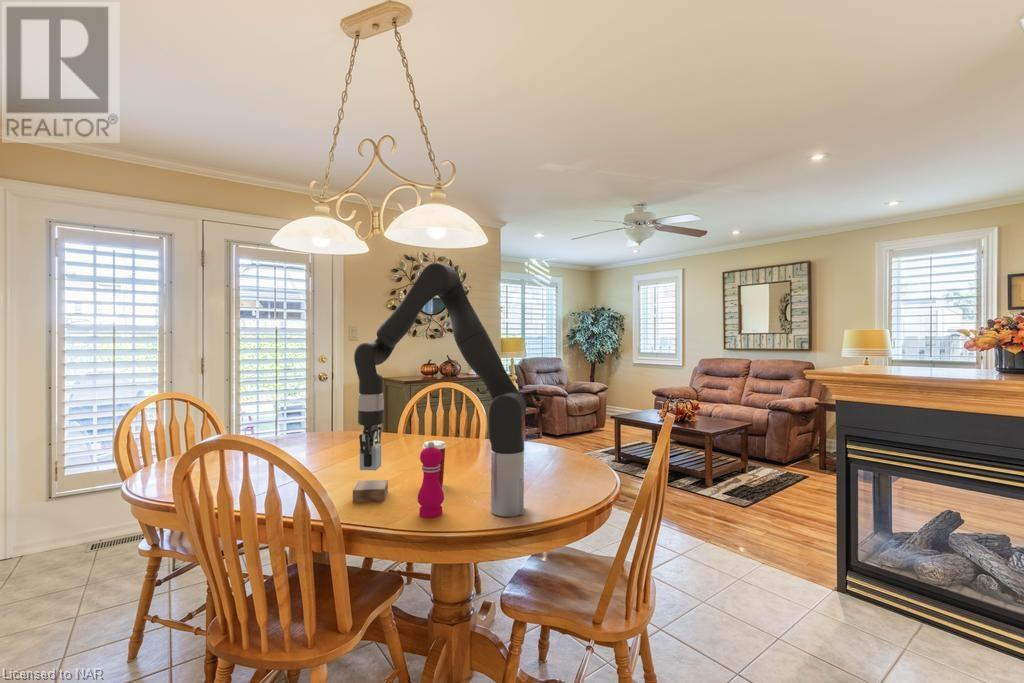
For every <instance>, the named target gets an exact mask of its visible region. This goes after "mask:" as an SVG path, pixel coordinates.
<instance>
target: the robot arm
mask: <svg viewBox="0 0 1024 683" xmlns="http://www.w3.org/2000/svg"><path fill="white" fill-rule="evenodd" d="M437 296H438V298H439V299H440V301H441V302H442V304H443V306H444V308H445V309H446V310H447V314H448V316H449V319H450V323H451V328H452V329H451V330H452V334H453V338H454V341H455V344H456V345H457V348H458V350H459V351H460V353H461V355H462V357H463V358H464V359H463V360H464V361H465V362H466V363H467V365H468V366H469V367H470V368H471V370H472V371H473V372H474V373H475V374H476V375H477V376H478V377H479V378H480V379H481V381H482V382H483V383H484V385H485V386H486V389H487V390H488V393H489V394H490V397H491V399H492V401H491V402H490V405H489V407H488V436H489V437H488V438H489V442H490V449H491V450H490V513H491V514H493V515H495V516H498V517H505V518H508V517H509V518H510V517H511V518H512V517H517V516H523V515H524V514H525V513H524V512H525V510H524V508H525V506H524V504H525V492H524V491H525V442H524V441H525V440H524V439H523V435H522V434H523V432H522V431H523V430H522V428H523V427H522V420H523V419H524V417H525V415H526V412H527V404H526V401H525V399H524V397H523V396H522V394H521V393H520V391H519V390H518V388H517V387H516V385H515V384H514V383H513V381H512V379H511V378H510V376H509V374H508V373H507V371H506V369H505V367H504V365H503V361H502V360H501V357H500V356H499V353H498V351H497V350H496V347H495V346H494V343H493V341H492V340H491V338H490V336H489V334H488V332H487V330H486V329H485V327H484V325H483V323H482V321H481V319H480V318H479V316H478V315H477V313H476V311H475V309H474V307H473V306H472V304H471V303H470V300H469V299H468V296H467V294H466V291H465V289H464V285H463V283H462V280H461V278H460V275H459V274H458V272H457V271H456V269H455V268H453V267H452V266H450V265H447V264H446V263H445V264H444V263H441V262H431V263H429V264H428V265H426V266H425V267H424V268H423V269H422V271H421V272H420V274H419V275H418V277H417V278H416V280H415V281H414V283H413V285H412V286H411V288H410V289H409V291H408V292H407V294H406V296H405V297H404V298H403V299H402V301H401V302H400V303H399V305H397V307H396V308H395V309H394V311H393V312H392V313H391V314H390V315H389V316H388V317H387V319H386V320H385V321H384V322H383V323H382V324H381V326H379V327H378V329H377V330H376V336H377V338H376V339H375V340H374V341H372V342H362V343H360V344H359V345H357V347H356V349H355V350H354V353H353V354H354V355H353V357H354V358H353V360H354V366H355V370H356V374H357V377H358V398H357V422H358V423H357V424H358V425H359V426H363V431H362V433H361V434H359V452H360V451H361V454H364V466H365V467H370V466H372V447H373V446H374V445H375V443H380V445H382V443H381V442H382V441H381V440H382V429H383V428H382V426H379V425H382V424H384V421H385V412H384V411H385V401H384V378H383V376H382V375H381V374H380V373H377V372H378V371H377V367H376V366H379V365H382V364H384V362H386V361H387V360H388V359H389V357H390V356H391V354H392V352H393V351H394V350H395V348H396V345H397V344H398V343H399V342H400V341H401V340H402V339H403V337H404V336H406V335H407V333H408V332H409V331H410V330H411V329H412V327H413V326H414V323H415V322H416V320H417V318H418V316H419V314H420V312H421V311H422V309H423V308H424V307H425V306H426V305H427V304H428V303H429V302H430V301H431V300H433V299H434V298H435V297H437ZM366 447H367V449H366Z"/></svg>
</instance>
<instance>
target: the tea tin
mask: <svg viewBox="0 0 1024 683" xmlns="http://www.w3.org/2000/svg"><path fill="white" fill-rule="evenodd" d="M366 449H367V447H366ZM381 467H382V444H380V443H375V445H374V446H373V447H372V466H370V467H365V466H364V454H361V451H360V450H359V471H378V469H380V468H381Z"/></svg>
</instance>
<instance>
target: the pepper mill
mask: <svg viewBox="0 0 1024 683" xmlns="http://www.w3.org/2000/svg"><path fill="white" fill-rule="evenodd" d="M419 459H420V462H421V464H422V465H421V468H422V469H421V471H422V472H423V478H422V482H421V487H420V488H419V491H418V493H417V503H418V504H419V505H420V507H419V514H418V515H419V516H420V517H422V518H426V519H431V518H432V519H433V518H434V519H435V518H438V517H440V516H441V515H442V514H443V506H442V504H443V502H444V501H445V494H444V490H443V488H442V487H443V486H441V485H440V482H439V476H438V474H439V470H440V464H439V463H440V462H441V460H442V453H441V451H440V450H439V449H438V448H435V447H434V443H433V442H429V443H428V448H425V449H424V450H423V449H422V450H421V452H420V454H419Z"/></svg>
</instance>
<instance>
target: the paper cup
mask: <svg viewBox="0 0 1024 683" xmlns="http://www.w3.org/2000/svg"><path fill="white" fill-rule="evenodd" d="M429 442H433V443H434V447H435V448H438V449H439V450H440V451H441V453H442V460H441V462H440V463H439V464H440V470H439V474H438V476H439V482H440V485H441V487H443V485H444V474H445V471H444V470H445V458H446V456H445V455H446V448H447V445H446V443H445V441H444V440H443V441H442V440H430V441H425V442H424V443H423V445H422V451H423V450H424V449H425V448H428V443H429Z"/></svg>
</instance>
